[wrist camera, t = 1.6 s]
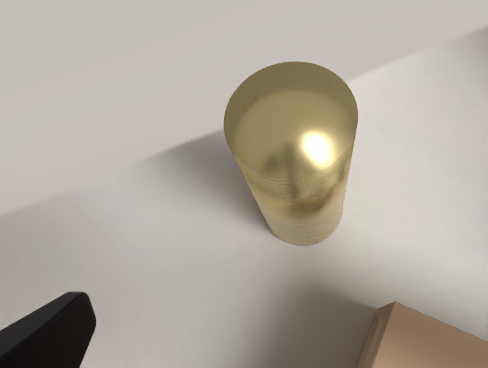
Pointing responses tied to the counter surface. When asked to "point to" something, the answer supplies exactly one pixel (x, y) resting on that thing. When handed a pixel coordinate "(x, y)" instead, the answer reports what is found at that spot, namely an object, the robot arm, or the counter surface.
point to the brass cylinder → (294, 146)
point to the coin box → (419, 342)
